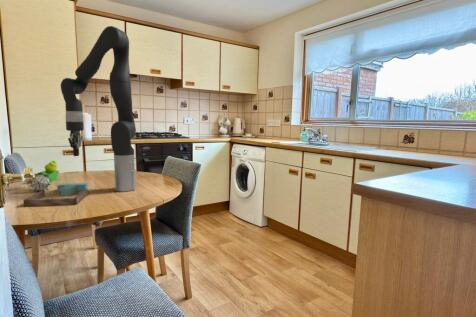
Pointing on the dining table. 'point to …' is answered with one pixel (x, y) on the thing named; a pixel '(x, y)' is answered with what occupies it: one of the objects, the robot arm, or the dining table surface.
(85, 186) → the teal T block
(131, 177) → the robot arm
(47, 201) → the walnut bay
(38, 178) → the game die
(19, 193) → the dining table surface
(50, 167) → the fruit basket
